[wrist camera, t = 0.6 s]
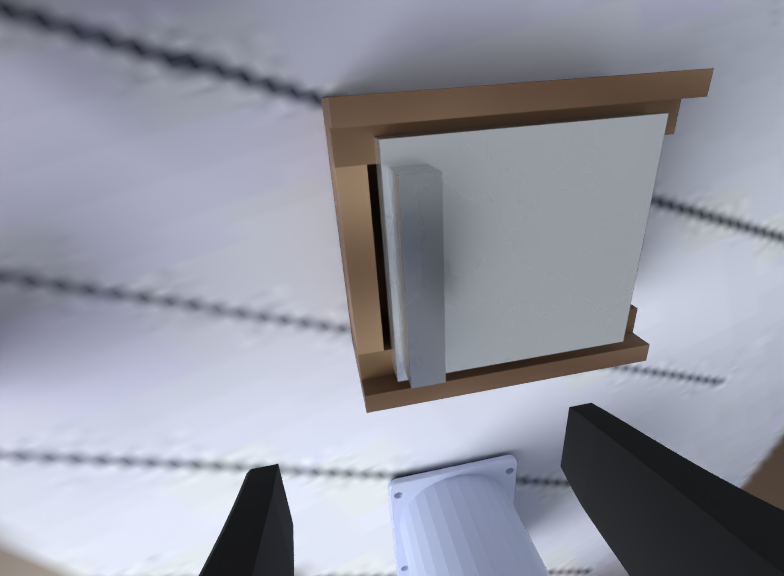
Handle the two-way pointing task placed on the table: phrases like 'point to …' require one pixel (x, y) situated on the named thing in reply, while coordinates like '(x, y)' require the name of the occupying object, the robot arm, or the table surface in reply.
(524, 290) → the cover plate
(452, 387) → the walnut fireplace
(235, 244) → the table surface
